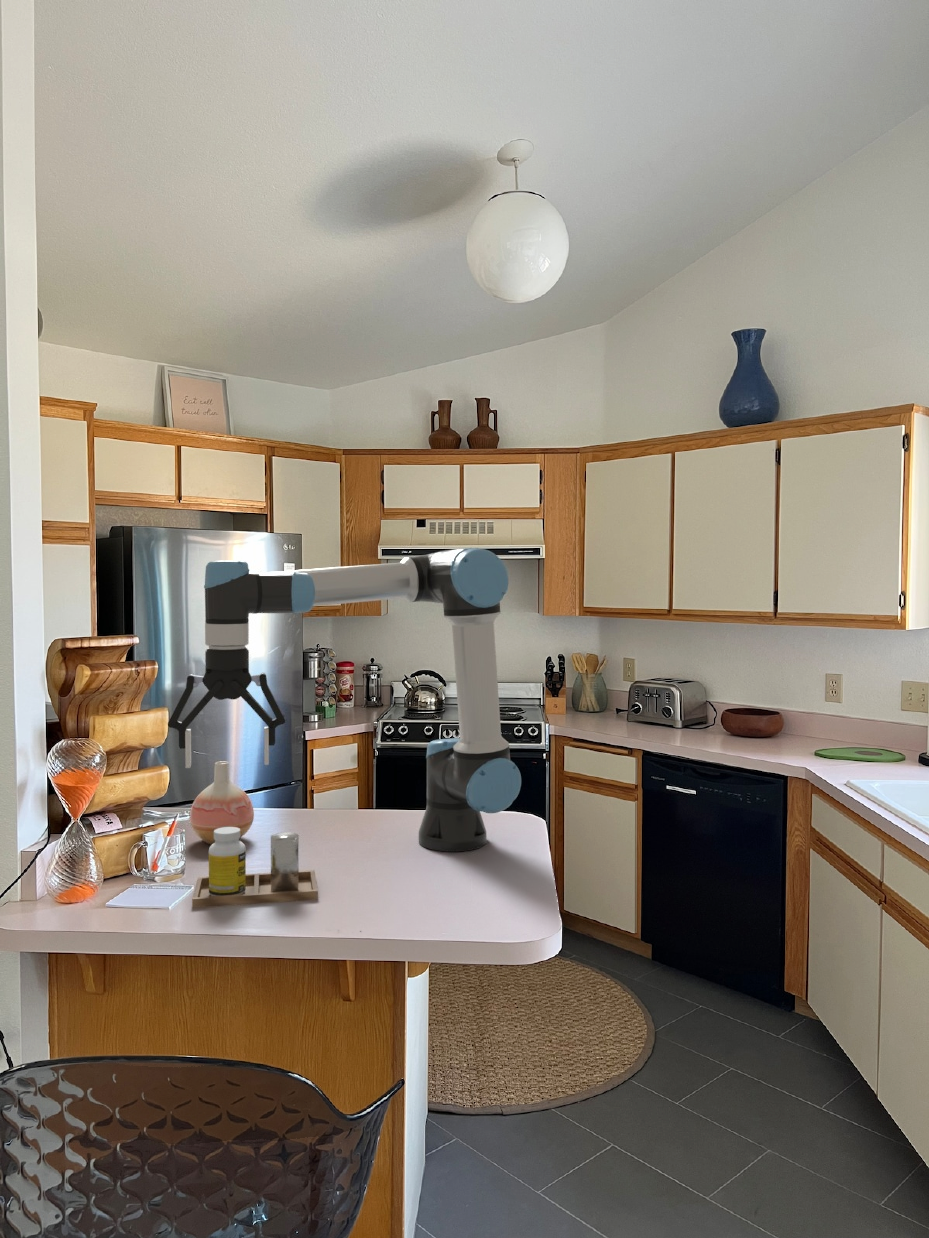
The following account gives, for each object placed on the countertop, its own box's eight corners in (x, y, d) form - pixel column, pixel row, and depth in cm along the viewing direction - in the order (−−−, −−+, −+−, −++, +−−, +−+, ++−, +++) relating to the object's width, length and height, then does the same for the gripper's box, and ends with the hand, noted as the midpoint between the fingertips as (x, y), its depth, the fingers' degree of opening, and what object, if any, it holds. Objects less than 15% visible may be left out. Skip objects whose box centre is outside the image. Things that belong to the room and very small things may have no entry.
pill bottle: (235, 901, 156) (235, 836, 156) (202, 898, 158) (201, 833, 157) (251, 888, 163) (251, 826, 162) (219, 886, 164) (219, 824, 164)
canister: (298, 884, 165) (298, 831, 165) (299, 893, 160) (299, 839, 160) (270, 886, 164) (270, 832, 164) (270, 895, 159) (270, 840, 159)
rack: (314, 883, 169) (314, 869, 169) (317, 905, 158) (317, 890, 158) (197, 891, 165) (197, 877, 165) (192, 914, 153) (192, 899, 153)
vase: (220, 854, 187) (220, 771, 186) (176, 844, 194) (175, 764, 193) (266, 838, 198) (266, 760, 198) (223, 829, 206) (223, 753, 205)
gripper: (297, 644, 165) (297, 758, 166) (156, 646, 159) (157, 763, 160) (298, 648, 157) (299, 766, 158) (150, 649, 152) (152, 772, 153)
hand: (227, 765), depth 159 cm, fingers open, 13 cm apart
